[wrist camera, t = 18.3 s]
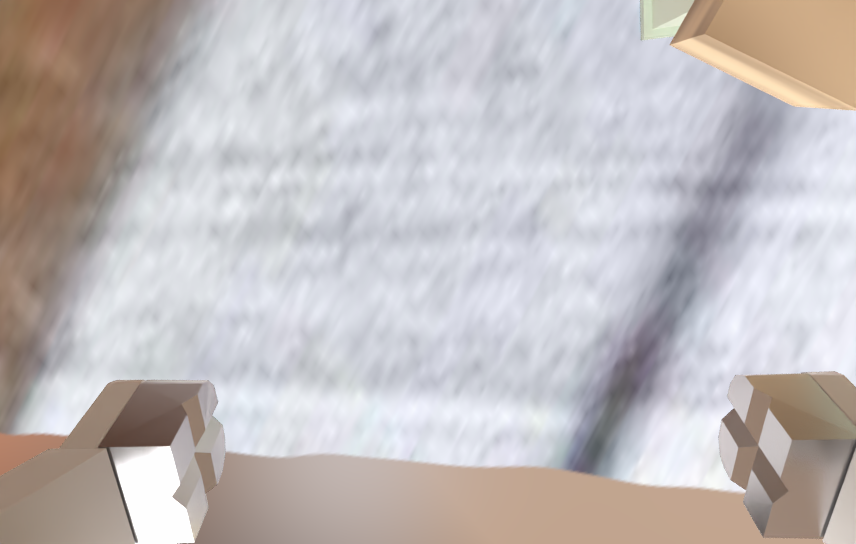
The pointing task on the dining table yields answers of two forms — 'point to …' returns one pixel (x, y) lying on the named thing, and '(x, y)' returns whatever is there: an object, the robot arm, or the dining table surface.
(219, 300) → the dining table surface
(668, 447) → the dining table surface
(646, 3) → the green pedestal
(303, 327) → the dining table surface
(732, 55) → the beech block
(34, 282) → the dining table surface
